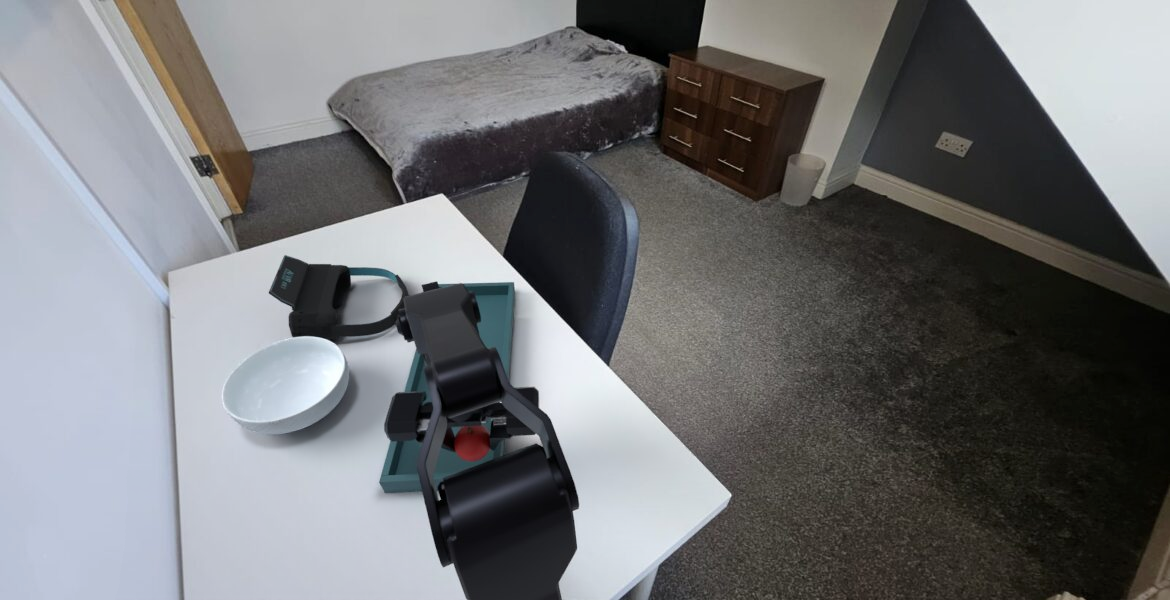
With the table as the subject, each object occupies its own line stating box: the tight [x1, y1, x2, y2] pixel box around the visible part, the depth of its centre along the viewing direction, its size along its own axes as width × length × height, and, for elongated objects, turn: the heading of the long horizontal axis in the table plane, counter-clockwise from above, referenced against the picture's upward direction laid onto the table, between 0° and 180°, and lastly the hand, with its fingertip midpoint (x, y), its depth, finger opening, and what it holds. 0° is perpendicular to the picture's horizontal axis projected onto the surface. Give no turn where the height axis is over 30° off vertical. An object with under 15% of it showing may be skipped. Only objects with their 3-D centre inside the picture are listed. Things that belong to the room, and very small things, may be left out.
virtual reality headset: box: [268, 254, 410, 340], centre depth 90 cm, size 19×22×10 cm
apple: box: [454, 425, 490, 461], centre depth 64 cm, size 5×5×6 cm
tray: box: [378, 281, 516, 494], centre depth 80 cm, size 42×16×3 cm, turn 4°
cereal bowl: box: [221, 336, 350, 435], centre depth 74 cm, size 17×17×7 cm
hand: (474, 448), depth 65 cm, fingers closed on apple, 5 cm apart
